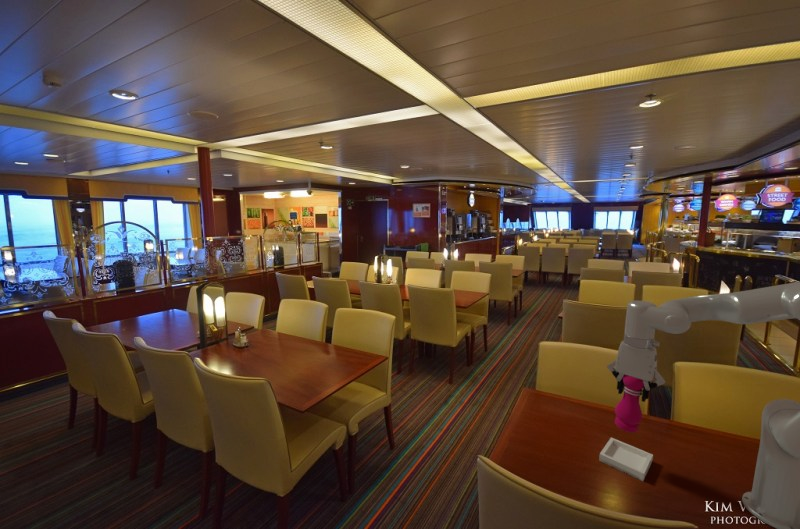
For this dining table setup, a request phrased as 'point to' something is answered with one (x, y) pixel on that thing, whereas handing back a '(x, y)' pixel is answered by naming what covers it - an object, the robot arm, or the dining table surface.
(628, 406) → the pepper mill
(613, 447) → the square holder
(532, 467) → the dining table surface
